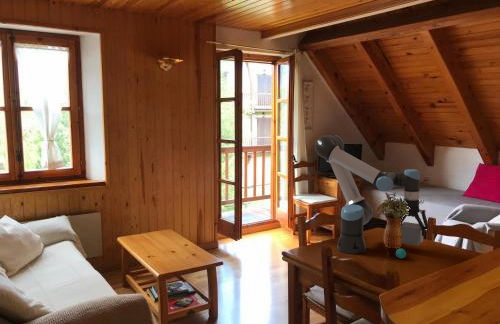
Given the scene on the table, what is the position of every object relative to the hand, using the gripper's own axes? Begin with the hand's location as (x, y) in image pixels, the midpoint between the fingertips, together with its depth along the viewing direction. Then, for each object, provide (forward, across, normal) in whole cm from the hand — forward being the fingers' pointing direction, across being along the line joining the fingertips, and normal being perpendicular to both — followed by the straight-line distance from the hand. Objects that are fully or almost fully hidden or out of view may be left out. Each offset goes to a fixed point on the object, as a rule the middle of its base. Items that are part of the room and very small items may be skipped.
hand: (410, 239), depth 223 cm
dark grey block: (+1, 0, 0) cm, 1 cm away
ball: (+3, 0, -15) cm, 15 cm away
